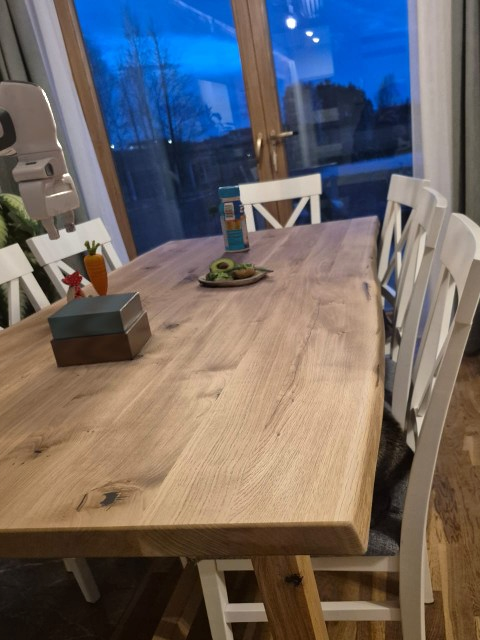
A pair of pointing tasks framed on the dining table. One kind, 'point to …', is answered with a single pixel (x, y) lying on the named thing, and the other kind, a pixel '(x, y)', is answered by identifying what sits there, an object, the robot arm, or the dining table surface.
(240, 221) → the blue canister
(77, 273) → the bird rattle
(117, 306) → the block stack
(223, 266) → the salad plate
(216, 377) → the dining table surface
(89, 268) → the carrot
